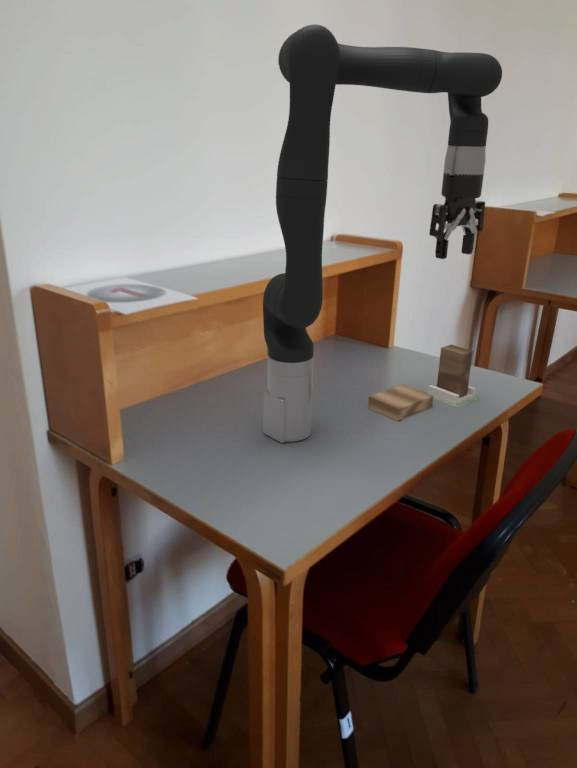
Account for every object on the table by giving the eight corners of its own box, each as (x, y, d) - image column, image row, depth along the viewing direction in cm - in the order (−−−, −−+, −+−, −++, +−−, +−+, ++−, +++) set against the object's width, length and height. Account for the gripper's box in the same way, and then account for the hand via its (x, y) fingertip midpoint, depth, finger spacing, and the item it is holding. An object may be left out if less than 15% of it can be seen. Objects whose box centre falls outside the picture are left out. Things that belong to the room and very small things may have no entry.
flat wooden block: (397, 421, 140) (398, 409, 139) (367, 408, 146) (368, 396, 145) (432, 407, 147) (433, 395, 146) (402, 395, 154) (403, 384, 152)
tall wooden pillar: (457, 398, 149) (462, 354, 145) (436, 391, 154) (441, 347, 149) (467, 394, 152) (472, 350, 148) (446, 387, 156) (451, 344, 152)
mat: (457, 409, 147) (457, 407, 147) (422, 395, 154) (422, 394, 154) (479, 399, 152) (480, 397, 152) (445, 387, 159) (445, 385, 159)
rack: (454, 405, 148) (456, 396, 147) (427, 394, 153) (428, 386, 152) (475, 397, 153) (476, 388, 152) (447, 387, 158) (448, 378, 157)
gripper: (469, 169, 129) (459, 249, 135) (424, 171, 121) (416, 257, 127) (501, 171, 124) (490, 255, 130) (457, 173, 116) (447, 263, 122)
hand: (453, 256), depth 129 cm, fingers open, 8 cm apart
